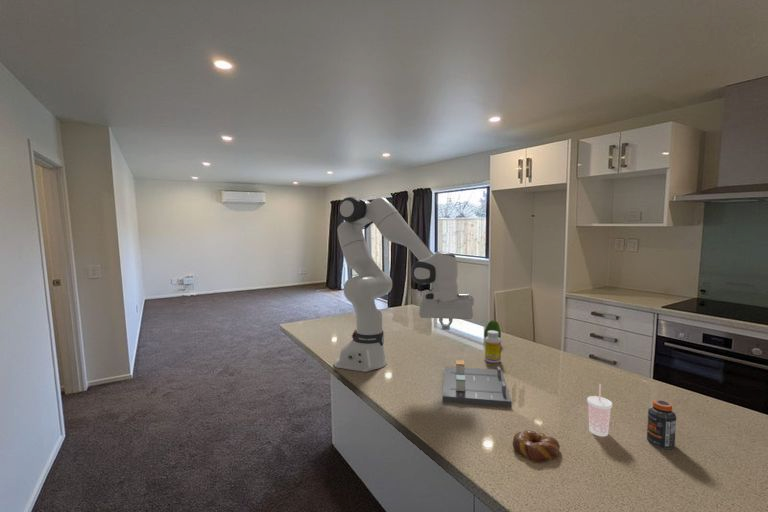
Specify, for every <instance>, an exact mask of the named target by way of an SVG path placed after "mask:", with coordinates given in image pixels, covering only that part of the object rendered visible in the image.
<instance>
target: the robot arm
mask: <svg viewBox="0 0 768 512" xmlns="http://www.w3.org/2000/svg"><path fill="white" fill-rule="evenodd" d="M337 210H338V211H337V213H338V215H339V217H340V218H341V219H342V220H344V221H343V222H341V223H340V224H339V225H338V226H337V230H336V231H337V237H338V241H339V246H340V249H341V251H342V254H343V257H344V259H345V263H346V265H347V267H348V268H349V269H351V270H353V271H354V272H355V273H356V274H357V275H355V276H353V277H351V278H349V279H347V280H346V281H345V283H344V285H343V295H344V297H345V298H346V300H348V301H349V302H350V303H351V304H352V306H353V309H354V312H355V318H356V319H355V320H356V328H355V329H354V330H353V332H352V334H351V338H352V339H351V340H350V341H348V343H346V344H345V345H344V346H342V349H340V353H339V356H338V357H337V358H336V359H335V360H334V364H333V365H334V367H335V368H339V369H344V370H350V371H357V372H364V373H366V372H367V373H368V372H370V371H373V370H377V369H382V368H383V367H385V366H386V365H387V363H388V362H387V358H386V355H385V350H384V349H385V348H384V343H385V335H384V330H383V313H382V311H381V310H380V309H378V308H377V306H376V302H375V299H378V298H379V299H380V298H381V297H385V296H386V295H387V294H389V293H390V292H391V291H392V289H393V280H392V278H391V277H390V275H389V274H388V273H386V272H385V271H384V270H382V269H381V267H380V266H379V265H378V264H377V262H376V261H375V260H374V258H373V257H372V254H371V252H370V249H369V246H368V244H367V241H366V239H365V236H364V233H363V230H367V229H368V228H369V227H370V226H371V225H373V224H374V225H375V227H376V228H377V230H378V231H379V233H380V234H381V235H382V237H384V239H386V240H387V241H389V242H392V243H395V244H399V245H401V246H404V247H405V248H407V249H409V251H411V253H412V254H413V255H414V256H415V257H416V259H417V261H415V262H414V263H412V266H411V268H410V276H411V279H412V281H414V282H415V283H416V284H417V285H428V284H433V289H429V290H425V291H424V292H422V299H421V301H420V305H419V314H418V315H419V317H420V318H421V319H423V318H424V319H426V318H427V319H438V322H439V323H440V324H441V325H440V326H441V330H443V331H444V330H445V331H450V330H451V329H450V326H451V324H452V323H453V321H454V319H455V320H471V319H473V317H474V315H473V313H474V311H473V306H474V304H475V299H474V297H473V296H472V295H470V294H469V293H468V294H463V293H462V294H461V293H460V294H459V293H458V287H459V286H458V283H457V280H458V273H459V272H458V261H457V257H456V255H455V254H454V253H452V252H449V251H442V250H439V251H436V252H435V253H433V252H432V251H431V250H430V248H429V247H428V246H427V245H426V244H425V242H424V241H423V239H421V238H420V236H418V234H416V232H415V231H414V230H413V229H412V228H411V227H410V226H409V224H408V223H407V221H405V219H404V218H403V216H402V215H401V214H400V213H399V211H398V209H396V207H395V206H394V205H393V204H392V203H391V202H390V201H389V200H388V199H387V198H385V197H376V198H375V199H373V200H371V201H368V200H367V199H364V198H360V197H355V196H350V197H349V196H348V197H345V198H343V199H342V200H341V201H340V202H339V204H338V208H337ZM444 319H447V320H448V323H447V324H445V323H444V322H443V320H444Z"/></svg>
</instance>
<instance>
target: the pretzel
mask: <svg viewBox="0 0 768 512" xmlns="http://www.w3.org/2000/svg"><path fill="white" fill-rule="evenodd" d="M512 447H513V449H514V450H513V451H515V452H516V453H517V454H518V455H519V456H522V457H523V458H527V459H528V460H530V461H532V462H535V463H543V462H546V461H547V460H548V461H551V460H552V459H555V458H557V457H558V456H559V451H560V449H561V445H560V443H559V441H558V440H557V439H556V438H555V437H552V436H547V435H546V434H545V433H544V432H543V433H542V432H537V431H534V430H530V429H529V430H525V431H519V432H517V433H515V434H514V436H513V441H512Z"/></svg>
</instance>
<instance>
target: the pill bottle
mask: <svg viewBox="0 0 768 512" xmlns="http://www.w3.org/2000/svg"><path fill="white" fill-rule="evenodd" d="M676 428H677V415H676V413H675V412H674V411H673V404H672V403H671V402H669V401H667V400H663V399H654V400H653V401H652V406H650V407H649V408H648V411H647V429H646V440H647V441H648V443H649V444H651V445H652V446H654V447H656V448H659V449H663V450H672V449H674V448H675V446H676Z"/></svg>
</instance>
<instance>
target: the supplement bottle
mask: <svg viewBox="0 0 768 512" xmlns="http://www.w3.org/2000/svg"><path fill="white" fill-rule="evenodd" d="M487 334H488V336H487V337H486V338H485V337H484V361H486V362H487V363H491V364H499V363H500V362H501V360H502V359H501V358H502V355H501V354H502V353H501V350H502V348H501V346H502V339H501V337H500V338H499V337H498V335H499V332H498V331H494V330H490V331H487Z"/></svg>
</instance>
